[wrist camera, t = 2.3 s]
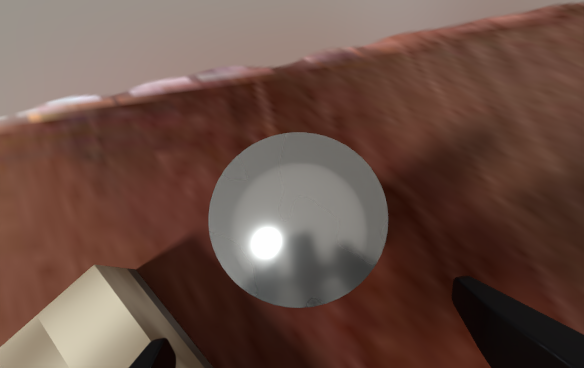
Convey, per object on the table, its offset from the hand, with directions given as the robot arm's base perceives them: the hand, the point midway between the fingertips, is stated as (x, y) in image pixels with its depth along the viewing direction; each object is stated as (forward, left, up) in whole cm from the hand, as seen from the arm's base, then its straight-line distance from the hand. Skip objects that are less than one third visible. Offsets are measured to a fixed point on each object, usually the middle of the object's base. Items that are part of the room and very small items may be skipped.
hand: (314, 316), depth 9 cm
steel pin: (+2, -1, -10) cm, 10 cm away
